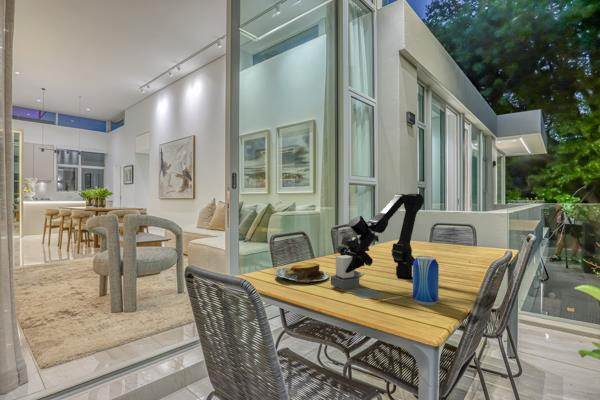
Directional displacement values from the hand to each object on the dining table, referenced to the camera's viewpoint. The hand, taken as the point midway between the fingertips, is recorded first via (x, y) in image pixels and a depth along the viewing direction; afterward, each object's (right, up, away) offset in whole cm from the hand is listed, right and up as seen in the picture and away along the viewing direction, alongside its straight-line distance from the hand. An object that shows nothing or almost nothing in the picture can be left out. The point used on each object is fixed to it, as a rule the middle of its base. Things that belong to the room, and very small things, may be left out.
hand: (342, 271), depth 130 cm
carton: (+1, -7, +1) cm, 7 cm away
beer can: (+27, -7, -18) cm, 33 cm away
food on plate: (-17, -7, +14) cm, 23 cm away
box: (+1, -6, +1) cm, 6 cm away
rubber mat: (+8, -7, -9) cm, 14 cm away
